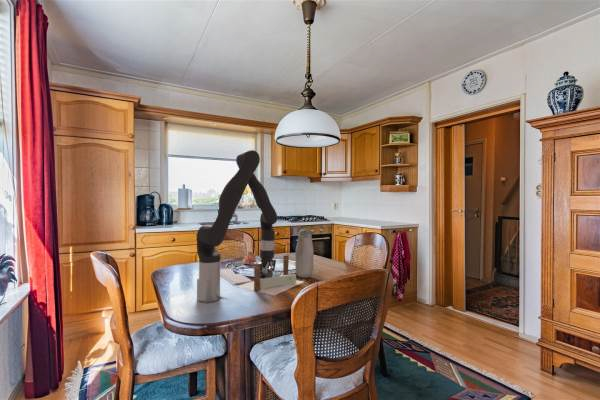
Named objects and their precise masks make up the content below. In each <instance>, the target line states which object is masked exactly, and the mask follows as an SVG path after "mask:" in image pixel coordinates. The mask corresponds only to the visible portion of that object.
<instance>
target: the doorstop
mask: <svg viewBox="0 0 600 400" xmlns="http://www.w3.org/2000/svg"><path fill="white" fill-rule="evenodd" d="M273 273H274V271H272V272H271V271H267V270H266V271H265V278H270V277H273V276H274V274H273Z"/></svg>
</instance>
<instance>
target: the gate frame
mask: <svg viewBox="0 0 600 400" xmlns="http://www.w3.org/2000/svg"><path fill="white" fill-rule="evenodd" d="M289 259H290V257H289V255H287V254H284V255H283V261H282V263H283V265H282V266H283V267H282V268H283V271H282V276H283V275H289V261H290V260H289ZM259 263H260V262H256V264H253V265H254V266H253V274H254V275H253V276H254V277H253V281H254V291H253V292H256V293H257V292H258V291H260V264H259ZM258 293H259V292H258Z"/></svg>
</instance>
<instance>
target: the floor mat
mask: <svg viewBox="0 0 600 400" xmlns="http://www.w3.org/2000/svg"><path fill="white" fill-rule="evenodd" d="M304 282H305V281H304V280H303V281H302V280H298V279H296V283H293V284H287V285H281V286H275V287H269V288H263V289H260V291H258V293H263V294H267V295H271V296H277V295H279V294H280V293H283V292H285V291H287V290H290V289H291V288H293V287H296V286H298V285H300V284H303V283H304ZM237 288H240V289H243V290H249V291H253V292H255V291H254V280H253V281H252V280H251V281H250V282H247V283H245V284H240V285H238V286H237Z"/></svg>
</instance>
